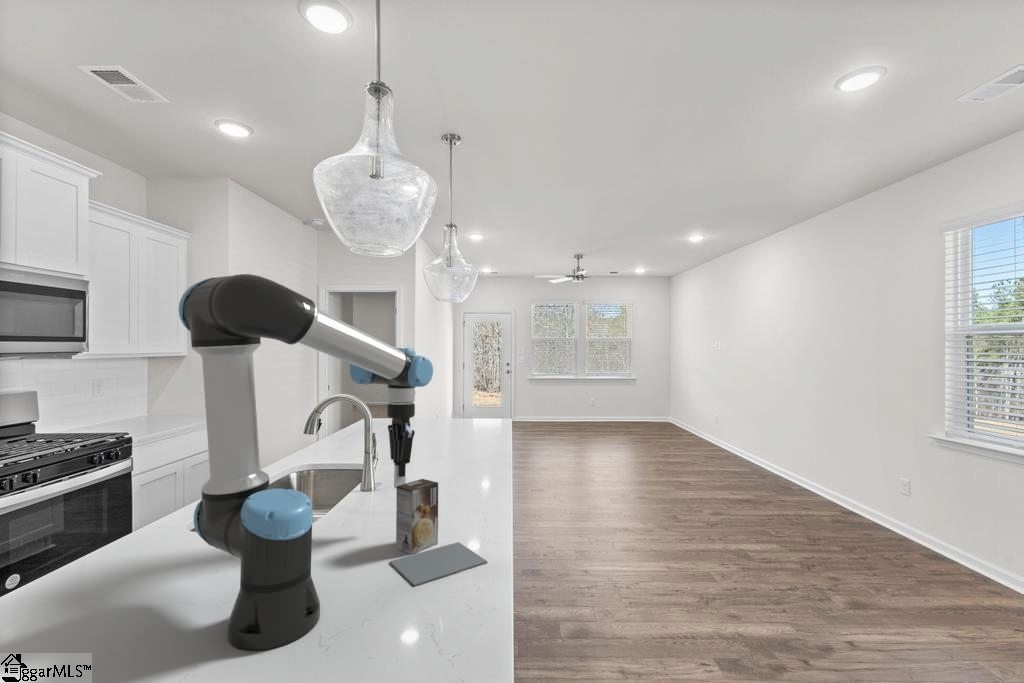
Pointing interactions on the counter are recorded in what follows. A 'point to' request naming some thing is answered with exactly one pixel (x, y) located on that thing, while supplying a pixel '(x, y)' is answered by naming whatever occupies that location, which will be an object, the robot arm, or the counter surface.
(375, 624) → the counter surface
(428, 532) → the coffee box
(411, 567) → the mat
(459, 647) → the counter surface
